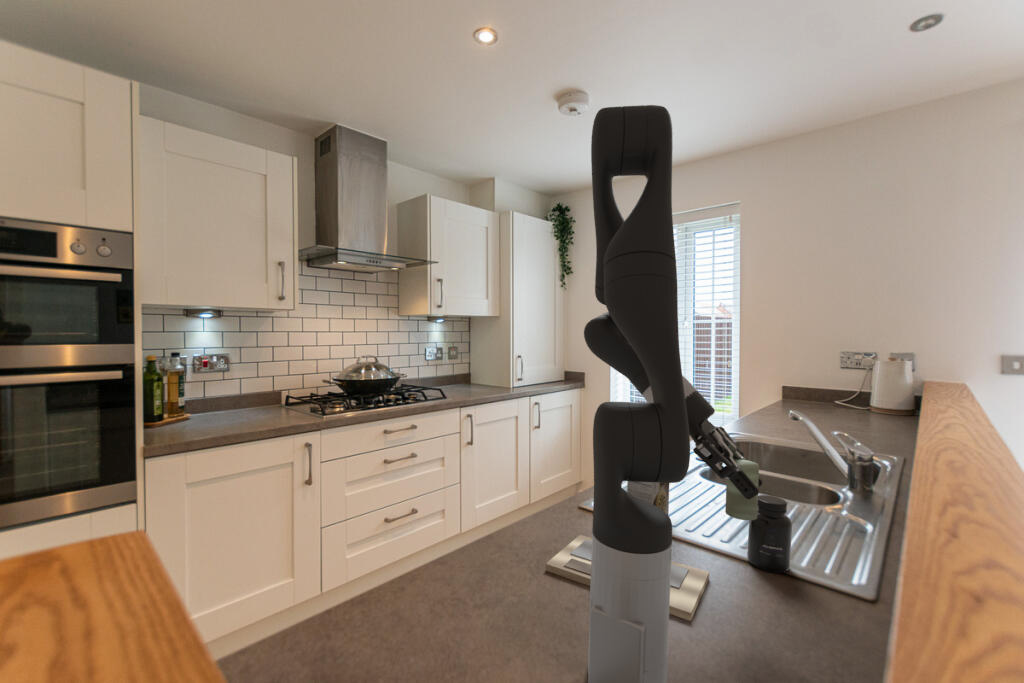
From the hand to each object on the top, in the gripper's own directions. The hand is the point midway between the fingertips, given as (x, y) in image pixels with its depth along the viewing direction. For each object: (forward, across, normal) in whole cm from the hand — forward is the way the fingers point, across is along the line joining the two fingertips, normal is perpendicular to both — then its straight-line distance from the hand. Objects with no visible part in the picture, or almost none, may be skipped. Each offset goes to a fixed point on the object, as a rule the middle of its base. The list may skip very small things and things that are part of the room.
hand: (755, 490), depth 70 cm
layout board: (-1, -2, +26) cm, 26 cm away
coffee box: (-3, +23, +29) cm, 37 cm away
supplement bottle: (+14, +17, +12) cm, 25 cm away
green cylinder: (+2, 0, +4) cm, 4 cm away
